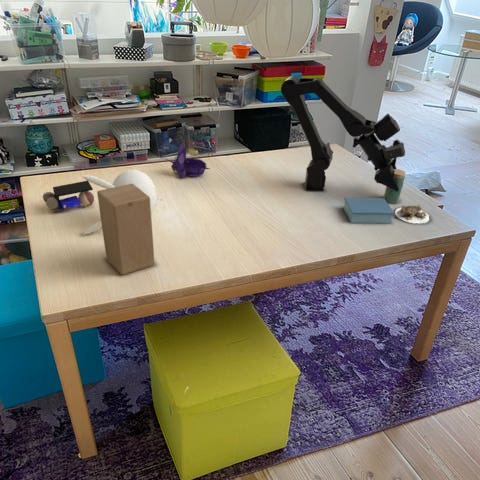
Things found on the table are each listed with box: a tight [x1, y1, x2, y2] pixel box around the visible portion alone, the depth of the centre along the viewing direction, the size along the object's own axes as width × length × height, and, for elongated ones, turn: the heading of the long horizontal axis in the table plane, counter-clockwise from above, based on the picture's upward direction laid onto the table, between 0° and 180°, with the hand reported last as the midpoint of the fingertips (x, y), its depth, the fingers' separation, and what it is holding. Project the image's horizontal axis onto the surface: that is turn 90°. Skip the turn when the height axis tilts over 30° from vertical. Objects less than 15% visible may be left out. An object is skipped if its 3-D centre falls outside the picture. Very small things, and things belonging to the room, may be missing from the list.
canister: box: [383, 168, 406, 204], centre depth 174 cm, size 5×5×10 cm
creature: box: [163, 139, 211, 179], centre depth 183 cm, size 9×18×12 cm, turn 108°
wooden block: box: [96, 184, 156, 276], centre depth 130 cm, size 10×10×20 cm
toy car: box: [42, 180, 95, 213], centre depth 159 cm, size 7×8×15 cm
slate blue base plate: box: [343, 197, 395, 224], centre depth 165 cm, size 14×11×4 cm
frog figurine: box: [394, 204, 430, 225], centre depth 166 cm, size 12×12×4 cm
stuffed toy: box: [81, 169, 163, 236], centre depth 148 cm, size 19×14×25 cm
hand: (398, 185), depth 173 cm, fingers open, 9 cm apart
